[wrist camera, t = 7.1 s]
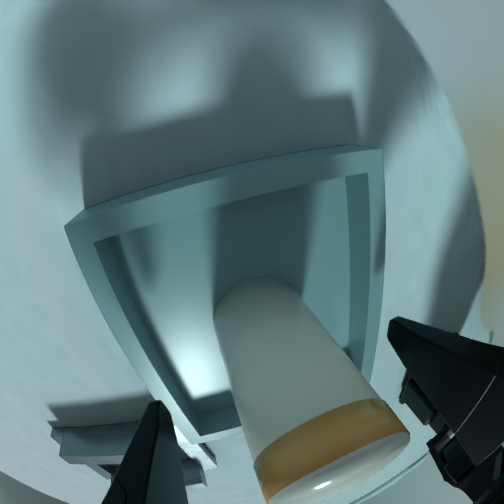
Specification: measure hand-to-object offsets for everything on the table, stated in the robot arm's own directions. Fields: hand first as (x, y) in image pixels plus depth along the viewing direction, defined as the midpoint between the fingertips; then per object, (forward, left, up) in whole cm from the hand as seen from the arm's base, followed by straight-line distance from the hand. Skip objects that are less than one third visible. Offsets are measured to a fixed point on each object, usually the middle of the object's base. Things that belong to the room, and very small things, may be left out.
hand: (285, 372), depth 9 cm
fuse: (0, 0, -3) cm, 3 cm away
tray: (0, 0, -4) cm, 4 cm away
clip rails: (+11, +10, -4) cm, 15 cm away
